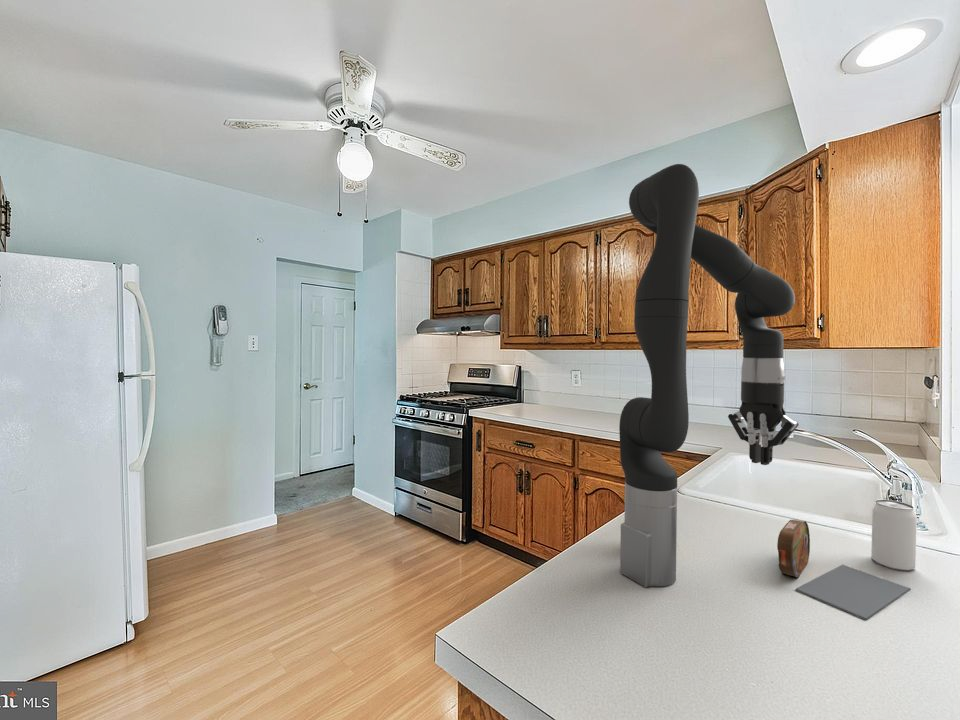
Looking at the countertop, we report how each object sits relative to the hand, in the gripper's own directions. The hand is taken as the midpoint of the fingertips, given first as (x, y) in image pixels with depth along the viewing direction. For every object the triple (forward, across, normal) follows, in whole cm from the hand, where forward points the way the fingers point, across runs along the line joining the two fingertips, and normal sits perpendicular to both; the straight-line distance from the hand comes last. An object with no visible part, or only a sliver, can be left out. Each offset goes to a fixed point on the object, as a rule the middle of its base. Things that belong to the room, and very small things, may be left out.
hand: (760, 463), depth 92 cm
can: (+19, +16, +19) cm, 31 cm away
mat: (+19, +16, 0) cm, 25 cm away
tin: (+19, +6, 0) cm, 20 cm away
